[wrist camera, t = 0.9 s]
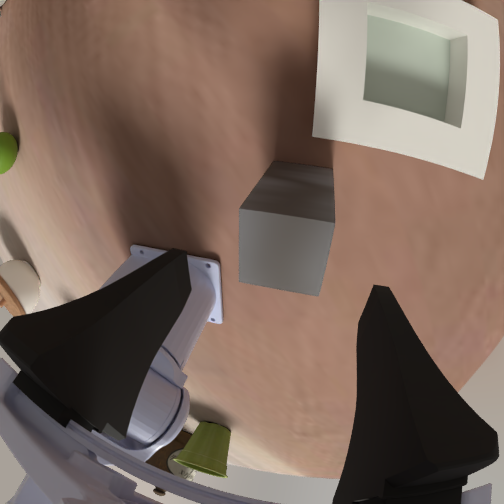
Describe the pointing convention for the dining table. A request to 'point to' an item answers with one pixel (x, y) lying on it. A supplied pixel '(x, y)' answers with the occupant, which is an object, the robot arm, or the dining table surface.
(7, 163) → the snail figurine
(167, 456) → the wooden container
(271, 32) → the dining table surface
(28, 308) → the lidded jar
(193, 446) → the plant pot
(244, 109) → the dining table surface
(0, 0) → the paper towel roll
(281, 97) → the dining table surface
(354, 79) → the socket block
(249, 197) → the peg
